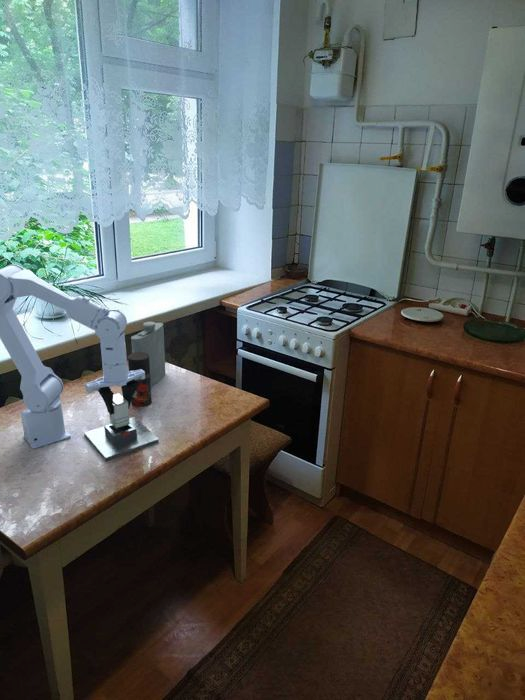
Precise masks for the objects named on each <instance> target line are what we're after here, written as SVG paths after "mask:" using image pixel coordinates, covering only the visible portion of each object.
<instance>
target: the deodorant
mask: <svg viewBox="0 0 525 700" xmlns="http://www.w3.org/2000/svg"><path fill="white" fill-rule="evenodd" d="M127 367H128V371H135V370H140V369H142V370H143V371H144V372H145V379H137V380H135V383H137V388H136V390H135V392H134V394H133V397H132V400H131V404H130V406H131V405H132V407H134V408H138V409H139V408H141V407H142V408H146V407H149V406H151V405H152V401H153V398H152V397H153V396H152V387H151V379H150V361H149V354H148V353H145V352H135V353H132V352H131V353H130V354H128V355H127ZM142 408H141V409H142Z"/></svg>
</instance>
